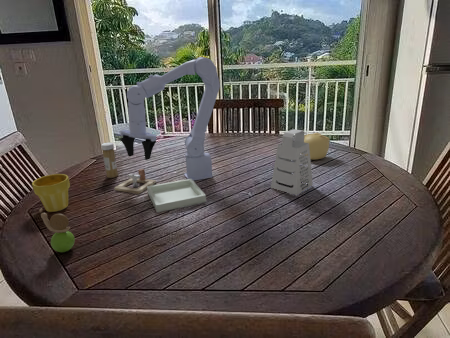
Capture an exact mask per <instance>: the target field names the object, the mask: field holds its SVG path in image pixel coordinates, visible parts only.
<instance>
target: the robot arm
mask: <svg viewBox="0 0 450 338" xmlns="http://www.w3.org/2000/svg"><path fill="white" fill-rule="evenodd" d="M217 70H218V69H217V67H216V65H215V63H214V62H213V61H212V60H211V59H210V58H208V57H204V56H198V57H197V58H196V59H192V60H191V59H190V60H188V61H186V62H183V63H182V64H180V65H178V66H176V67H174V68H172V70H169V71H167V72H166V73H164V74H163V75H159V74H156V73H155V74H154V75H153V74H150V75H148V78H146V79H144V80H142V81H137V82H136V85H132V86H130V87H129V88H128V90H127V91H126V98H127V100H128V102H127V106H128V108H127V112H128V114H127V115H128V127H129V129H128V130H127V129H122V130H120V131H119V132H120V137H121V138H120V142H122V144H123V145H124V147H125V150H126V153H127V156H128V157H129V158H130V157H132V156H134V153H135V152H134V150H135V149H134V144H135V139H140V140H143V141H141V144H142V147H143V151H144V159H145V160H146V161H147V160H150V159H151V156H152V152H153V149H154V147H155V144H156V143H157V134H153V133H150V132H147V124H146V121H147V120H146V107H145V98H147V99H148V98H151V97H153V96H154V95H157V94H159V93H160V92H162V91H164V90H165V87H166V85H168V84H169V83H171V82H174V81H176V80H178V79H179V78H182V77H184V76H186V75H188V76H196V75H198V76H199V78H200V79H201V80H202V82H203V84H204V87H205V88H204V90H203V94H202V97H201V99H200V100H201V101H200V103H199V107H198V110H197V113H196V117H195V119H194V123H193V127H192V128H191V129H190V133H189V135H188V136H187V137H186V138H185V139H184V145H185V147H186V152H185V154H184V155H185V168H186V172H185V173H183V175H184V177H185V178H186V179H192V180H193V181H194V182H195V181H199V180H204V179H211V178H213V177H214V175H213V166H212V165H213V163H212V156H211V154H210V153H209V152H205V140H206V131H207V128H208V125H209V122H210V119H211V116H212V113H213V110H214V106H215V104H216V100H217V97H218V94H219V90H220V89H221V83H220V78H219V76H218V71H217Z"/></svg>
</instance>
